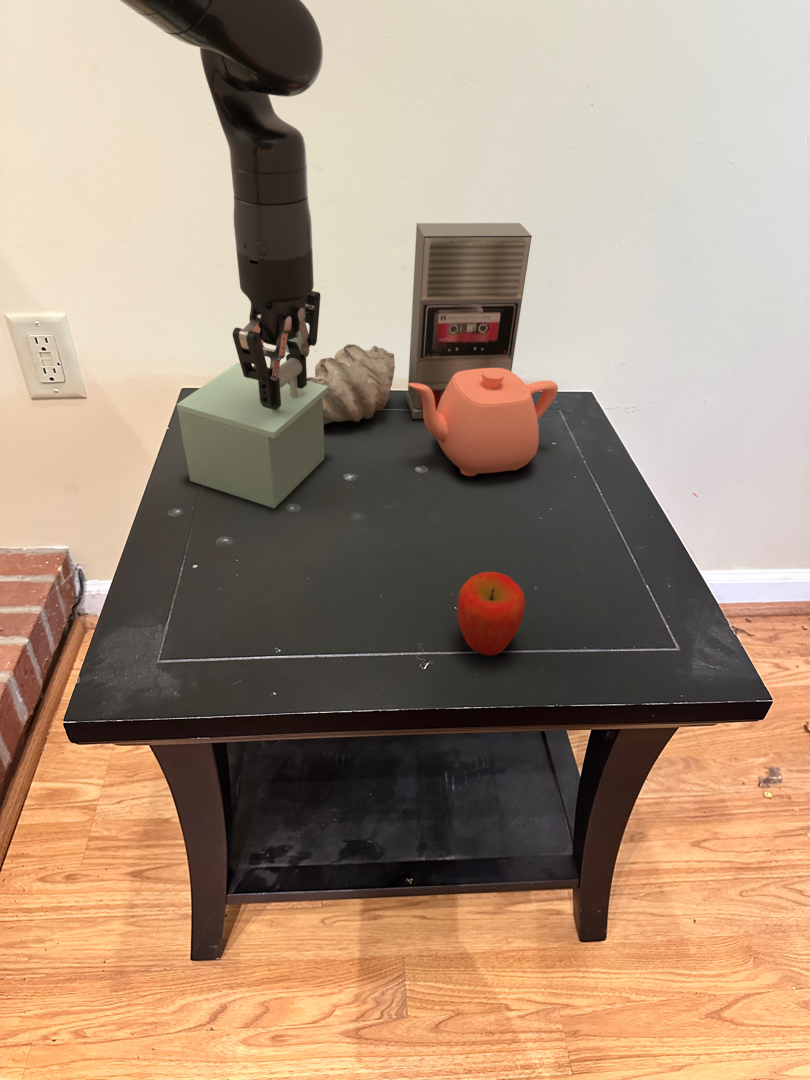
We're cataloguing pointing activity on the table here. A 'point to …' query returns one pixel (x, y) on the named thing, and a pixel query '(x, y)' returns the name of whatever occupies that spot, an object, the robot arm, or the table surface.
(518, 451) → the teapot
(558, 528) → the table surface
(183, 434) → the pale green hollow box
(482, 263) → the cassette tape recorder
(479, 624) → the apple
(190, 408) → the lid
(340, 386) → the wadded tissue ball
